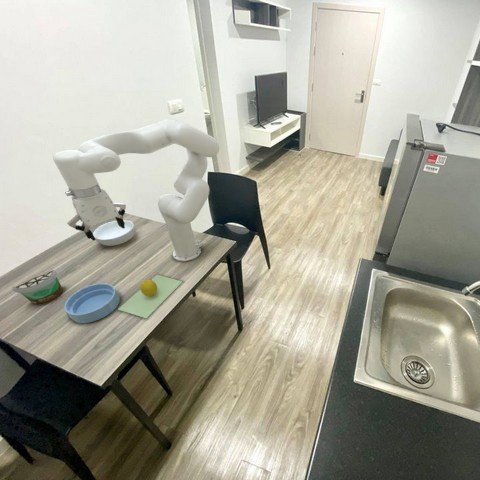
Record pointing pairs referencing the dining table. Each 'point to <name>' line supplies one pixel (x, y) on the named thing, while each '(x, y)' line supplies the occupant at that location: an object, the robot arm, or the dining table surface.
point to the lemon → (148, 287)
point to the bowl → (92, 303)
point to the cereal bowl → (114, 233)
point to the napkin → (150, 297)
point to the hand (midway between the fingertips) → (108, 232)
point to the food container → (41, 288)
